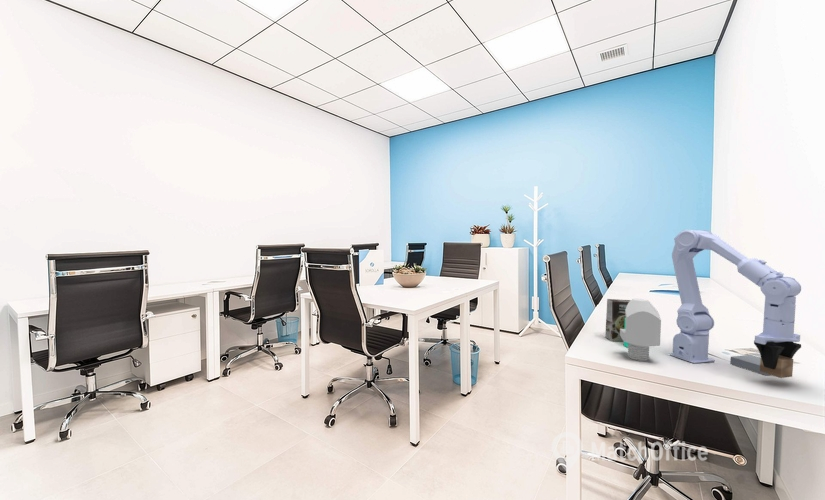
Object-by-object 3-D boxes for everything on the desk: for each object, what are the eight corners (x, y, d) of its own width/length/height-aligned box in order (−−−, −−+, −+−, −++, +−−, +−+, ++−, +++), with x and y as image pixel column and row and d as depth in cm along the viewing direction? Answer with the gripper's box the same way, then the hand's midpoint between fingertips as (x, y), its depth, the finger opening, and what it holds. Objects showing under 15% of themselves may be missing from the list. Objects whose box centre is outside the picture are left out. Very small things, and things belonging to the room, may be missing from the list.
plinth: (766, 375, 96) (766, 367, 96) (730, 364, 105) (730, 356, 105) (787, 373, 98) (787, 365, 98) (750, 362, 107) (750, 354, 107)
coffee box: (611, 341, 127) (613, 301, 126) (604, 336, 133) (606, 298, 133) (637, 343, 125) (638, 302, 125) (628, 338, 132) (630, 299, 131)
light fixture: (650, 355, 112) (652, 298, 111) (659, 365, 103) (661, 303, 102) (619, 351, 115) (621, 296, 115) (625, 360, 107) (627, 301, 106)
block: (780, 377, 88) (782, 360, 88) (759, 371, 92) (760, 354, 92) (792, 376, 89) (793, 359, 89) (770, 370, 93) (772, 353, 93)
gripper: (779, 324, 84) (776, 375, 85) (817, 322, 88) (813, 370, 88) (746, 318, 91) (743, 364, 92) (782, 316, 95) (779, 361, 95)
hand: (775, 367), depth 91 cm, fingers closed on block, 4 cm apart
